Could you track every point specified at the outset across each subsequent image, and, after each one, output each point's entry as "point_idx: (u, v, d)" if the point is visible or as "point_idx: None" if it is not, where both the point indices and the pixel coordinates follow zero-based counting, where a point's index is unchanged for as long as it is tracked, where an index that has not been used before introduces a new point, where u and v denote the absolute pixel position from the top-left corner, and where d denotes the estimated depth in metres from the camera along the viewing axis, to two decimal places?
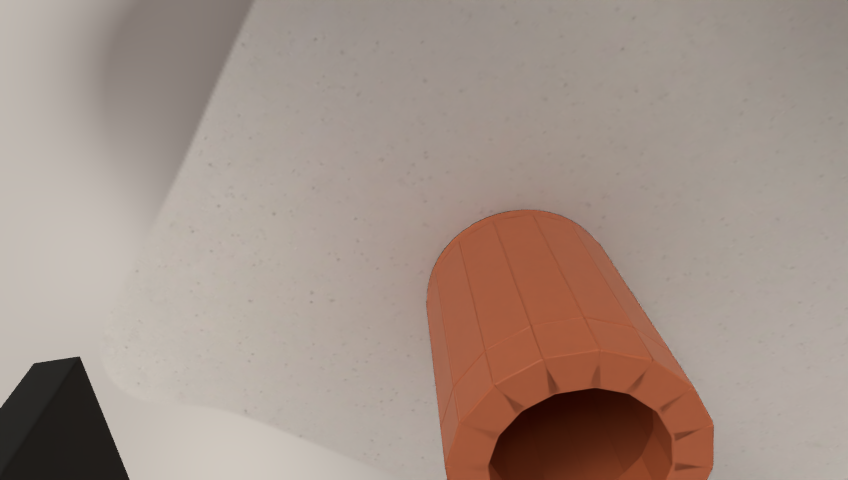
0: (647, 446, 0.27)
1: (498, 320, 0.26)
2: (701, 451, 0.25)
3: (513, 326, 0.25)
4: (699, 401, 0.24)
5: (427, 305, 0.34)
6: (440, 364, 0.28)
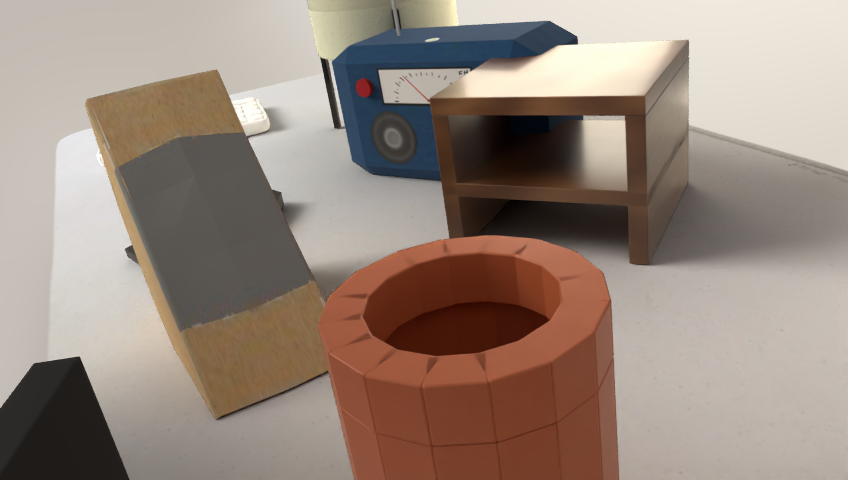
0: (533, 308, 0.25)
1: None
2: (512, 241, 0.26)
3: None
4: None
5: None
6: None
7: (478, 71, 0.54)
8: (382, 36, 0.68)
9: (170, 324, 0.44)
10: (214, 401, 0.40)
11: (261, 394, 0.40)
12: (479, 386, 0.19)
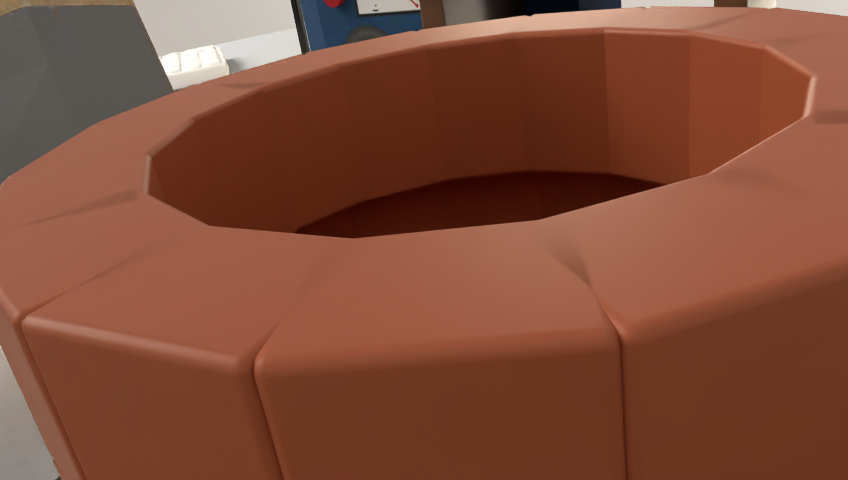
0: (650, 173, 0.10)
1: None
2: (589, 14, 0.10)
3: None
4: None
5: None
6: None
7: None
8: None
9: None
10: None
11: None
12: (571, 361, 0.03)
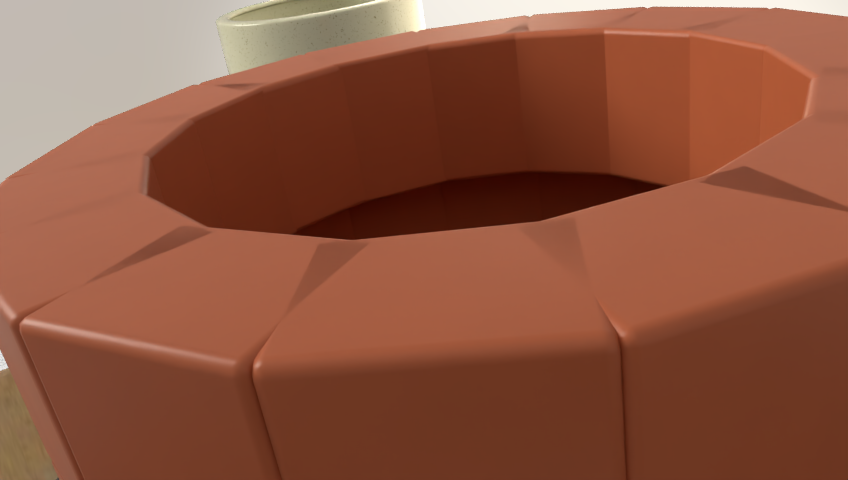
0: (651, 173, 0.10)
1: None
2: (589, 15, 0.10)
3: None
4: None
5: None
6: None
7: None
8: None
9: None
10: None
11: None
12: (570, 363, 0.03)
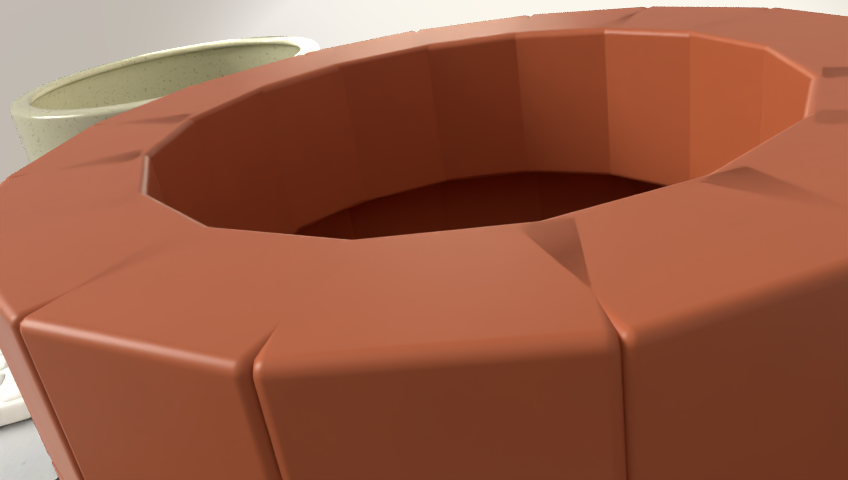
0: (651, 173, 0.10)
1: None
2: (589, 14, 0.10)
3: None
4: None
5: None
6: None
7: None
8: None
9: None
10: None
11: None
12: (570, 363, 0.03)
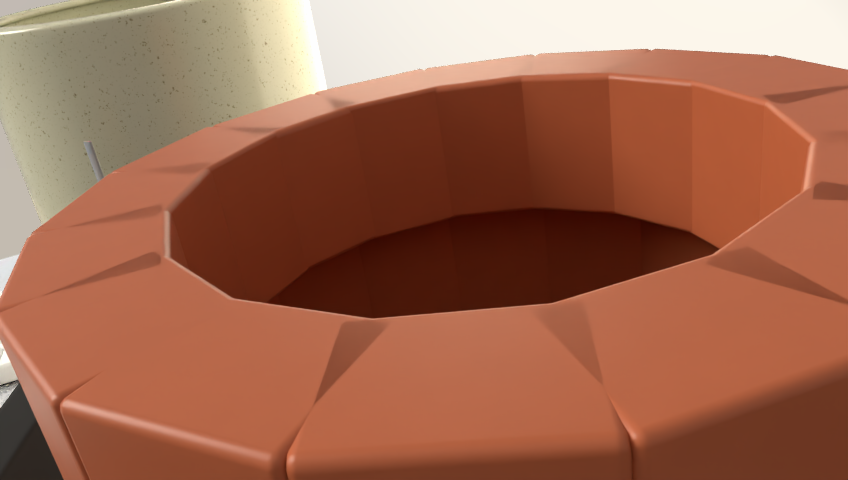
0: (654, 214, 0.10)
1: None
2: (594, 56, 0.11)
3: None
4: None
5: None
6: None
7: None
8: None
9: None
10: None
11: None
12: (585, 464, 0.04)
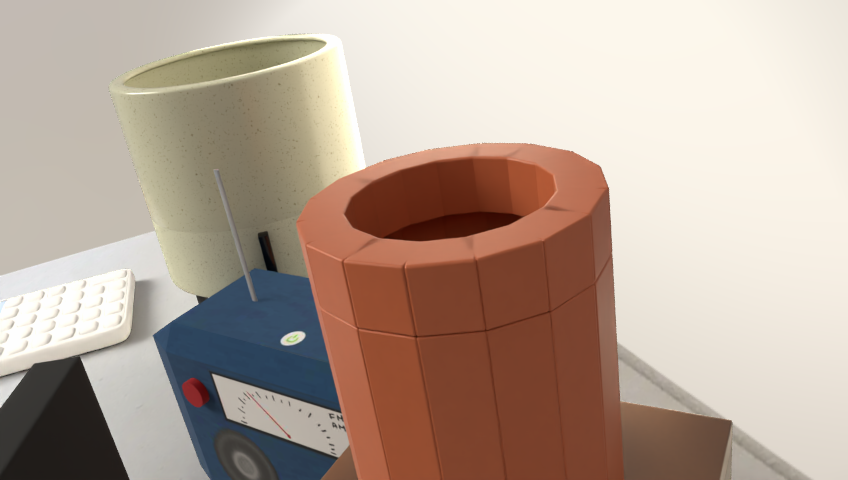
0: (527, 214, 0.24)
1: None
2: (504, 146, 0.25)
3: None
4: None
5: None
6: (359, 404, 0.21)
7: (341, 474, 0.29)
8: (232, 295, 0.43)
9: None
10: None
11: None
12: (466, 265, 0.18)
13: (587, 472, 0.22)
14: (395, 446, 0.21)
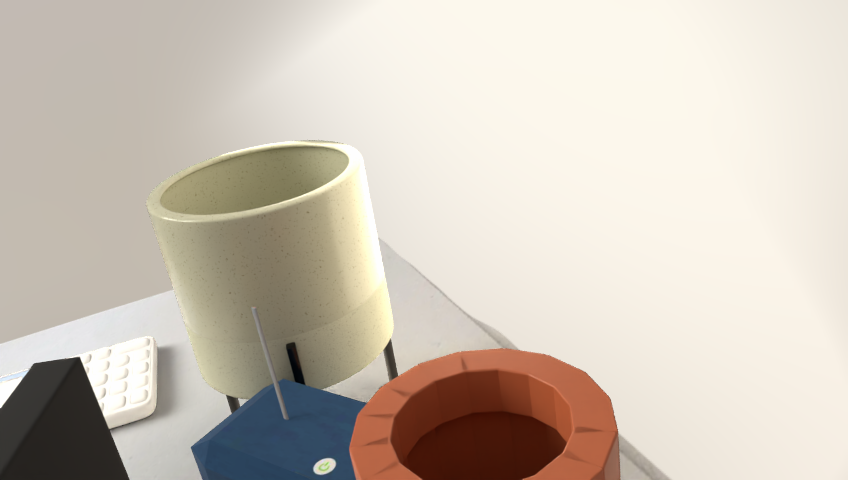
0: (545, 421, 0.28)
1: None
2: (525, 357, 0.28)
3: None
4: (475, 350, 0.29)
5: None
6: None
7: None
8: (264, 411, 0.46)
9: None
10: None
11: None
12: None
13: None
14: None
